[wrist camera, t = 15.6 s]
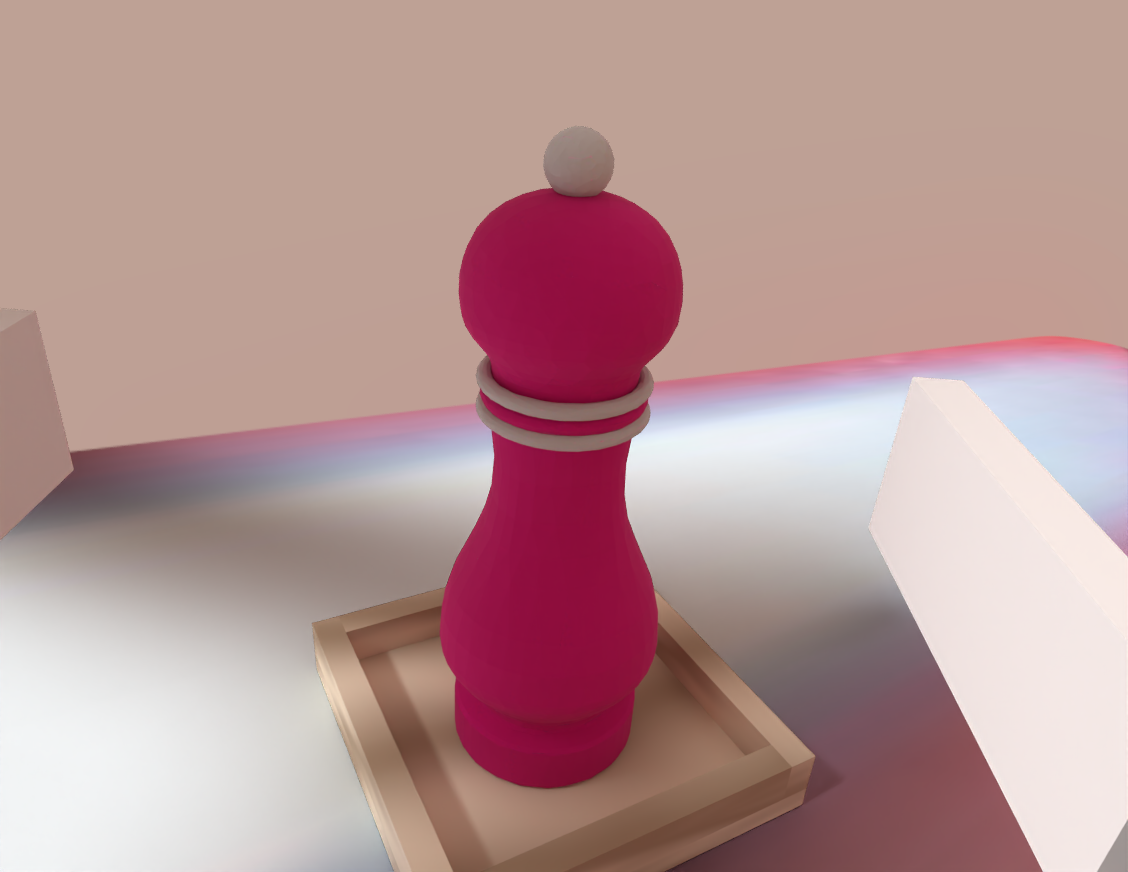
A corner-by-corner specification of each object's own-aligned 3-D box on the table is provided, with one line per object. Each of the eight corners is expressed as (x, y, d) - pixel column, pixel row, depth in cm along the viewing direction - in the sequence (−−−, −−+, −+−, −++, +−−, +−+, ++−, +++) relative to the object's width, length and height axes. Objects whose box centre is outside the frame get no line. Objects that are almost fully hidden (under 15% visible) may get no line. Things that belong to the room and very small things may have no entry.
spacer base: (317, 669, 33) (312, 623, 32) (605, 584, 38) (609, 542, 37) (436, 982, 23) (435, 930, 22) (801, 804, 28) (815, 756, 27)
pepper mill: (624, 644, 34) (687, 113, 24) (664, 796, 27) (770, 159, 18) (441, 651, 33) (435, 101, 23) (439, 811, 26) (430, 145, 17)
